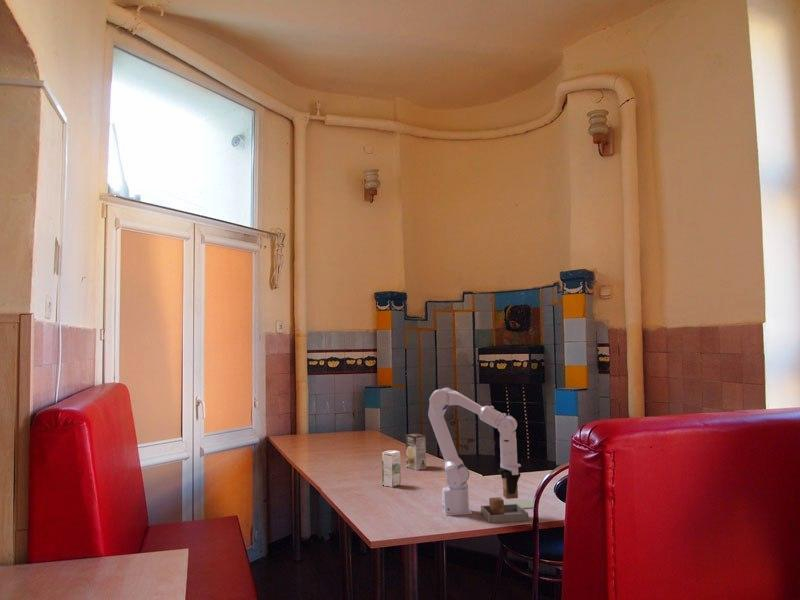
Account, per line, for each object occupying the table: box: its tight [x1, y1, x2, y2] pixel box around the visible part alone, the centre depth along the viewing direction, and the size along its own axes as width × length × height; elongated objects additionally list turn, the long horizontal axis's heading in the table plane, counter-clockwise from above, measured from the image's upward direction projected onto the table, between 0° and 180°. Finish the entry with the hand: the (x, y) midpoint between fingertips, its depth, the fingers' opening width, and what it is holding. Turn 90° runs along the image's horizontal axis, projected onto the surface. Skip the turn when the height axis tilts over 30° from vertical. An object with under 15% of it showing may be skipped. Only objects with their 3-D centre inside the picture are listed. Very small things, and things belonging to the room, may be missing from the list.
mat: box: [505, 499, 534, 510], centre depth 215 cm, size 9×9×1 cm
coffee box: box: [404, 433, 427, 471], centre depth 286 cm, size 9×6×16 cm
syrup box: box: [381, 449, 402, 488], centre depth 252 cm, size 6×6×14 cm
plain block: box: [488, 496, 505, 515], centre depth 202 cm, size 4×4×6 cm
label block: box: [502, 478, 519, 500], centre depth 203 cm, size 4×4×6 cm
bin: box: [480, 503, 529, 524], centre depth 202 cm, size 13×12×2 cm
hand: (510, 491), depth 203 cm, fingers closed on label block, 4 cm apart
